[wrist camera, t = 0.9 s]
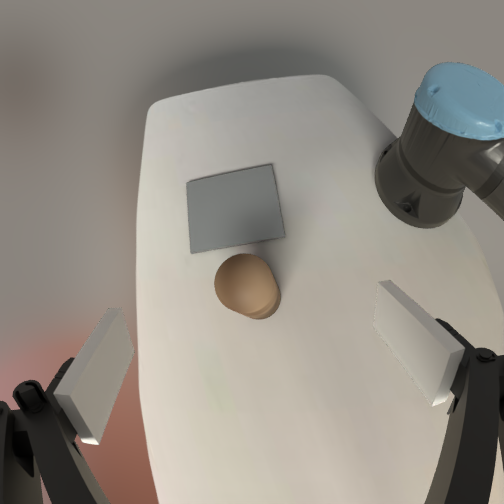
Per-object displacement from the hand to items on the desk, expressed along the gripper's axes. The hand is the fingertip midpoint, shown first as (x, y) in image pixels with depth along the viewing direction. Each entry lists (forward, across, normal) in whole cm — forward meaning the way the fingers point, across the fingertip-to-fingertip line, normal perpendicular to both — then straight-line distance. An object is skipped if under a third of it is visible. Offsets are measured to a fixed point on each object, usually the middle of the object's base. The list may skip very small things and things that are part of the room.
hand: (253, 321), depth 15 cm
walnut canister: (+25, +2, -11) cm, 28 cm away
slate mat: (+34, -1, 0) cm, 34 cm away
